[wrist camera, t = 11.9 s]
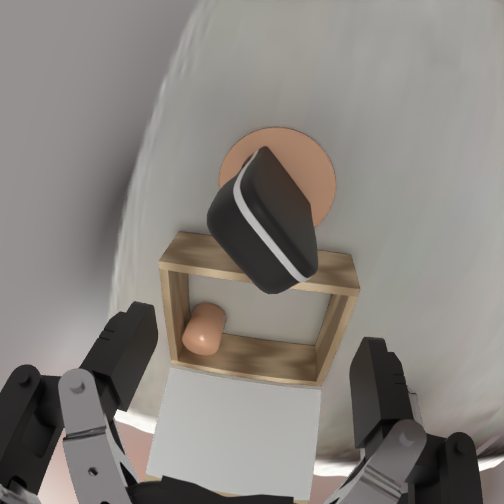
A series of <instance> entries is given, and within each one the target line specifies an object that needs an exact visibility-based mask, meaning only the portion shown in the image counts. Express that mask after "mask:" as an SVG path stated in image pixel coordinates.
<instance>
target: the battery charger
mask: <svg viewBox="0 0 504 504" xmlns="http://www.w3.org/2000/svg"><path fill="white" fill-rule="evenodd" d="M207 226H208V229H209V231H210V233H211V235H212V236H213V237H214V239H215V240H216V241H217V243H218V244H219V245H220V246H221V247H222V248H223V249H224V251H225V252H226V253H227V254H228V255H229V256H230V258H231V259H232V260H233V261H234V262H235V263H236V264H237V266H238V267H239V268H240V269H241V270H242V271H243V272H244V273H245V274H246V275H247V276H248V277H249V279H250V280H251V281H252V282H253V283H254V284H255V285H256V286H257V287H258V288H259V289H260V290H262V291H263V292H265V293H267V294H278V293H280V292H283V291H285V290H287V289H289V288H291V287H293V286H294V285H296V284H298V283H300V282H302V283H303V282H305V281H307V280H309V279H310V278H311V276H313V275H314V274H315V273H316V272H317V270H318V253H317V244H316V237H315V230H314V225H313V219H312V212H311V204H310V202H309V201H308V200H307V198H306V197H305V195H304V194H303V193H302V191H301V190H300V188H299V187H298V186H297V184H296V183H295V182H294V180H293V179H292V178H291V176H290V175H289V174H288V172H287V171H286V170H285V168H284V167H283V166H282V164H281V163H280V162H279V160H278V159H277V158H276V157H275V155H274V154H273V153H272V151H271V150H270V149H269V148H268V147H267V146H263V147H262V148H260V149H259V148H258V149H257V150H256V151H254V153H253V154H252V155H250V156H249V157H248V158H247V160H246V161H245V162H244V163H243V165H242V168H241V170H240V171H239V172H238V173H237V175H236V176H234V177H233V178H232V179H230V180H229V181H228V182H227V183H226V184H224V185H223V186H222V188H221V189H220V190H219V192H218V193H217V195H216V197H215V199H214V200H213V202H212V204H211V206H210V208H209V210H208V213H207Z"/></svg>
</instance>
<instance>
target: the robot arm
mask: <svg viewBox="0 0 504 504" xmlns="http://www.w3.org/2000/svg"><path fill="white" fill-rule="evenodd" d="M157 341H158V329H157V323H156V316H155V310H154V306H153V305H150V304H146V303H141V302H136V301H134V302H133V303H132V304H131V306H130V307H129V309H128V310H127V312H126V313H125V312H121V311H120V312H119V313H118V314H116V315H115V316H113V317H112V318H111V319H110V320H109V322H108V323H107V325H106V326H105V328H104V331H102V332H101V334H100V335H99V338H98V339H97V340H96V342H95V343H94V345H93V347H92V348H91V350H90V351H89V353H88V355H87V356H86V358H85V359H84V361H83V363H82V364H81V366H80V367H79V368H78V369H72V370H70V371H67V372H66V373H65V374H63V376H61V377H60V376H46V375H41V374H40V373H39V371H38V370H37V369H36V367H34V366H32V365H22V366H19V367H17V368H16V369H15V370H14V371H13V372H12V374H11V375H10V377H9V379H8V380H7V382H6V384H5V385H4V387H3V389H2V390H1V392H0V504H41V502H40V500H39V499H38V497H37V495H38V492H39V489H40V486H41V483H42V481H43V478H44V475H45V473H46V470H47V467H48V465H49V462H50V460H51V457H52V455H53V452H54V449H55V447H56V444H57V442H58V440H59V437H60V435H61V433H62V430H63V428H65V430H66V437H64V438H63V448H64V452H65V456H66V460H67V464H68V468H69V472H70V476H71V479H72V483H73V486H74V490H75V493H76V496H77V499H78V502H79V504H297V503H294V497H290V496H276V495H265V494H258V495H248V496H235V497H226V496H222V495H220V494H218V493H215V492H213V491H211V490H208V489H206V488H204V487H202V486H199V485H197V484H195V483H192V482H188V481H183V480H179V479H175V478H172V477H168V476H164V475H163V476H162V479H161V481H158V480H156V481H146V482H141V483H140V482H139V479H138V477H137V474H136V472H135V470H134V468H133V466H132V464H131V462H130V461H129V458H128V456H127V453H126V451H125V448H124V445H123V442H122V439H121V436H120V434H119V431H118V428H117V425H116V421H115V418H114V415H115V413H116V411H117V409H119V410H122V411H125V412H127V410H128V407H129V405H130V403H131V401H132V398H133V396H134V394H135V391H136V389H137V387H138V385H139V383H140V380H141V378H142V376H143V374H144V371H145V369H146V367H147V365H148V363H149V361H150V358H151V356H152V354H153V352H154V350H155V348H156V345H157ZM349 376H350V387H351V398H352V409H353V422H354V437H355V449H357V448H360V453H361V461H360V462H359V463H358V465H357V466H356V467H355V468H354V470H353V471H352V472H351V473H350V475H349V476H348V477H347V478H346V480H345V481H344V482H343V483H342V484H341V485H340V487H339V488H338V489H337V490H336V491H335V492H334V493H333V494H332V495H331V496H330V497H329V498H328V499H327V500H326V501H325V502H324V503H323V504H483V499H482V489H481V481H480V474H479V467H478V461H477V455H476V449H475V445H474V442H473V440H472V439H471V437H470V436H468V435H467V434H465V433H463V432H456V433H453V434H452V435H450V436H449V437H448V438H443V437H438V436H434V435H430V434H427V433H426V432H425V430H424V426H423V422H422V417H421V412H420V408H419V404H418V399H417V395H416V394H410V393H409V392H408V389H407V385H406V380H405V376H404V372H403V368H402V364H401V362H400V360H399V359H398V358H397V356H396V355H395V353H394V352H388V351H387V347H386V343H385V340H384V339H383V338H374V337H364V338H363V339H362V341H361V344H360V346H359V348H358V350H357V352H356V354H355V356H354V358H353V360H352V363H351V366H350V374H349Z"/></svg>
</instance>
